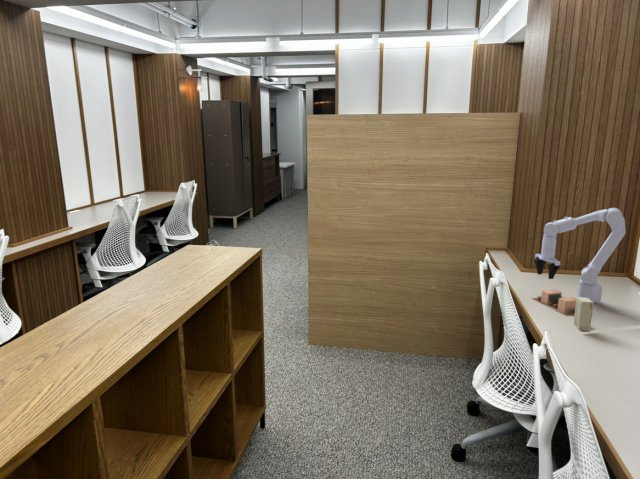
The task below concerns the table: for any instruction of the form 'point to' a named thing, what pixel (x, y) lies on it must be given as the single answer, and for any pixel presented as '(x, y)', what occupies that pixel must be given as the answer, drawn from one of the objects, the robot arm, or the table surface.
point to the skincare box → (583, 314)
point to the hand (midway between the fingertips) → (545, 276)
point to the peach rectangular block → (550, 296)
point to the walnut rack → (555, 306)
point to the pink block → (566, 304)
